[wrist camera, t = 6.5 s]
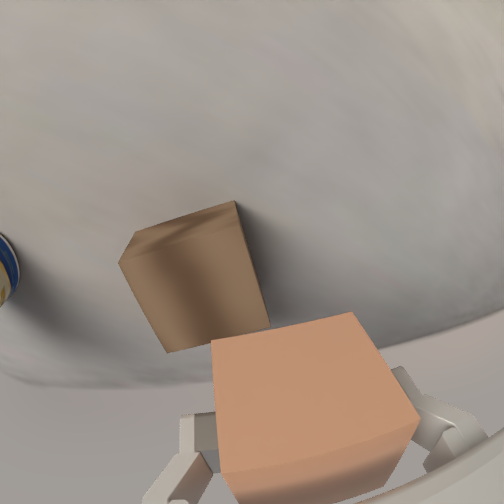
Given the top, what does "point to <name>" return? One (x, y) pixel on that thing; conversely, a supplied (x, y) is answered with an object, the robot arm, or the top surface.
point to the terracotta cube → (307, 413)
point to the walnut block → (196, 278)
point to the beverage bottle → (7, 270)
